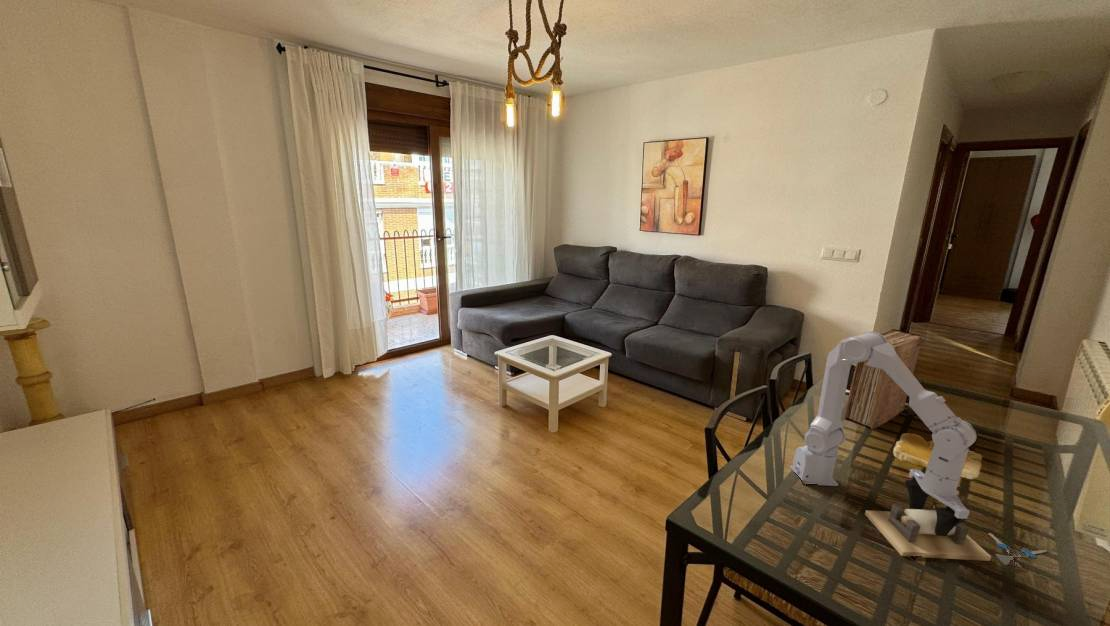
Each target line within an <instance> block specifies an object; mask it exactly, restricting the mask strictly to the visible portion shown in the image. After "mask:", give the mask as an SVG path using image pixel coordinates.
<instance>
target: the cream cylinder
mask: <svg viewBox="0 0 1110 626" xmlns="http://www.w3.org/2000/svg"><path fill="white" fill-rule="evenodd" d="M904 510H905V511H904V515H903V516H902V517H901V522H902V524H903V525H906V524H907V520H915V521H916V522H917V523H918V524H919V525H920V526H921V527H920V530H919V533H918V534H934V535H936V534H935V527H936V523H937V513H936V509H922V510H920V509H910V508H906V509H904ZM955 530H956V526H955V527H954V528H953V529H952V530H951V531H950V532H949V533H948V534H947V535H953V534H954V533H955Z"/></svg>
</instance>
